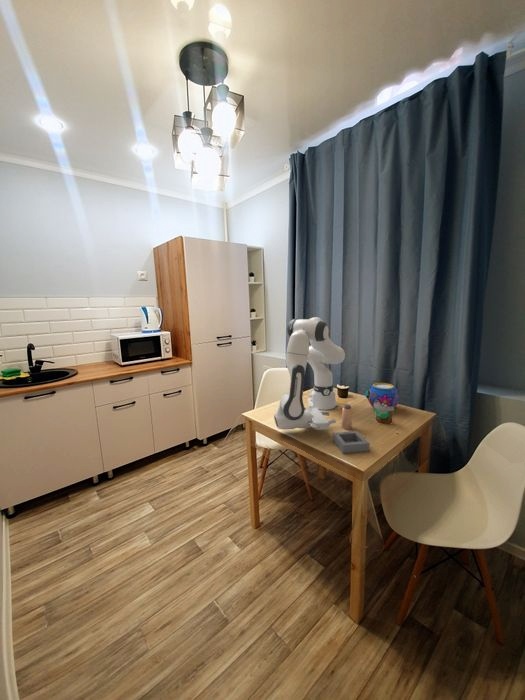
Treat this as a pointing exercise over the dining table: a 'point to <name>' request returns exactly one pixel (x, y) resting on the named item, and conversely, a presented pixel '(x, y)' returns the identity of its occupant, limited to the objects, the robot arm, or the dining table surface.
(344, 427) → the spice jar
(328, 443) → the dining table surface
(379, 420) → the food container
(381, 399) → the ceramic pot
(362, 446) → the holder
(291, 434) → the dining table surface
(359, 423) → the dining table surface
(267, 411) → the dining table surface
